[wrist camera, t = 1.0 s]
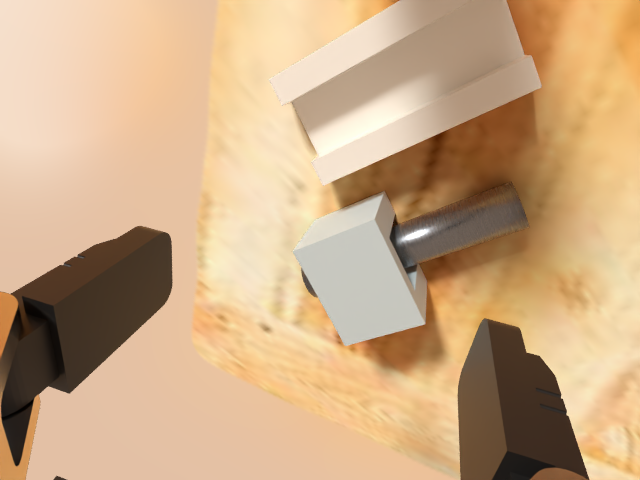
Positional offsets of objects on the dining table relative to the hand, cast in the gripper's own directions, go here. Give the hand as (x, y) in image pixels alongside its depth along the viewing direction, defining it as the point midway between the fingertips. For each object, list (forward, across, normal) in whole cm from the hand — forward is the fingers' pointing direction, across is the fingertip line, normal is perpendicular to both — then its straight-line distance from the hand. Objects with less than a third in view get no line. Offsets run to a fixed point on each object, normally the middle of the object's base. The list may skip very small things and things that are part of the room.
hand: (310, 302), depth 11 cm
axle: (+21, -2, +7) cm, 23 cm away
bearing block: (+21, 0, +9) cm, 23 cm away
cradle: (+21, +1, -4) cm, 22 cm away
